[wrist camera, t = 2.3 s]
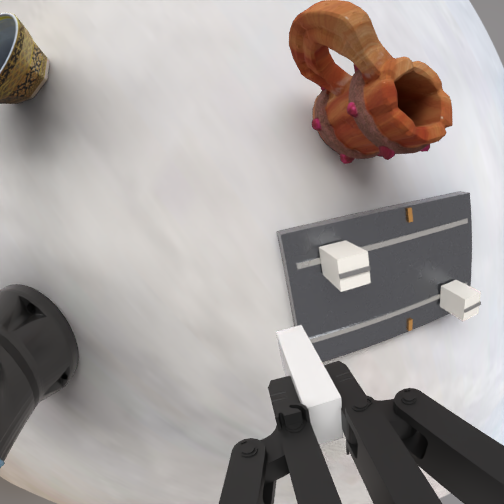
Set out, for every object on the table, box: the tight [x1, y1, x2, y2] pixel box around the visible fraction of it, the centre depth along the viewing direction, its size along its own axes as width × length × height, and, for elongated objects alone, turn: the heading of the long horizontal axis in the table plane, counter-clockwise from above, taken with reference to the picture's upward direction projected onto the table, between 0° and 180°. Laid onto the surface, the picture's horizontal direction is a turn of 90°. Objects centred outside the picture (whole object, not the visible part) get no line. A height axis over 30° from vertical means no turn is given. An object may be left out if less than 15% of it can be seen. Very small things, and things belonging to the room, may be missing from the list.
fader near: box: [319, 240, 371, 292], centre depth 28 cm, size 3×3×5 cm
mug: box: [289, 0, 452, 164], centre depth 22 cm, size 15×8×15 cm, turn 46°
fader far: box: [440, 280, 481, 321], centre depth 31 cm, size 3×3×5 cm
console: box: [277, 192, 472, 362], centre depth 33 cm, size 26×16×2 cm, turn 102°
